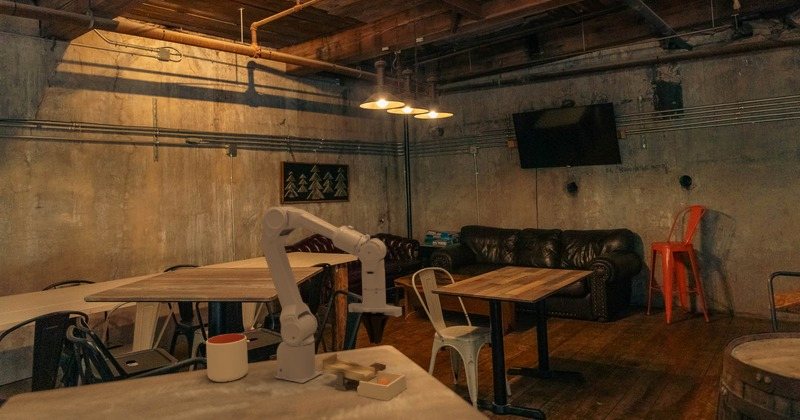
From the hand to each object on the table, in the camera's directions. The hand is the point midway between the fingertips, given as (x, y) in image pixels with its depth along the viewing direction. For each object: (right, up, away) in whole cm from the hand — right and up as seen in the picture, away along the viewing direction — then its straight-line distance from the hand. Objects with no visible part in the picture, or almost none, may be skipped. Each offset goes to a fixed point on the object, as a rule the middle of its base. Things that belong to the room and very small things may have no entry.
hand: (375, 342), depth 126 cm
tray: (+2, -9, -8) cm, 12 cm away
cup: (-39, -11, +7) cm, 41 cm away
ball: (+2, -8, -8) cm, 11 cm away
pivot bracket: (-6, -10, -3) cm, 12 cm away
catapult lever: (-5, -7, -1) cm, 8 cm away
